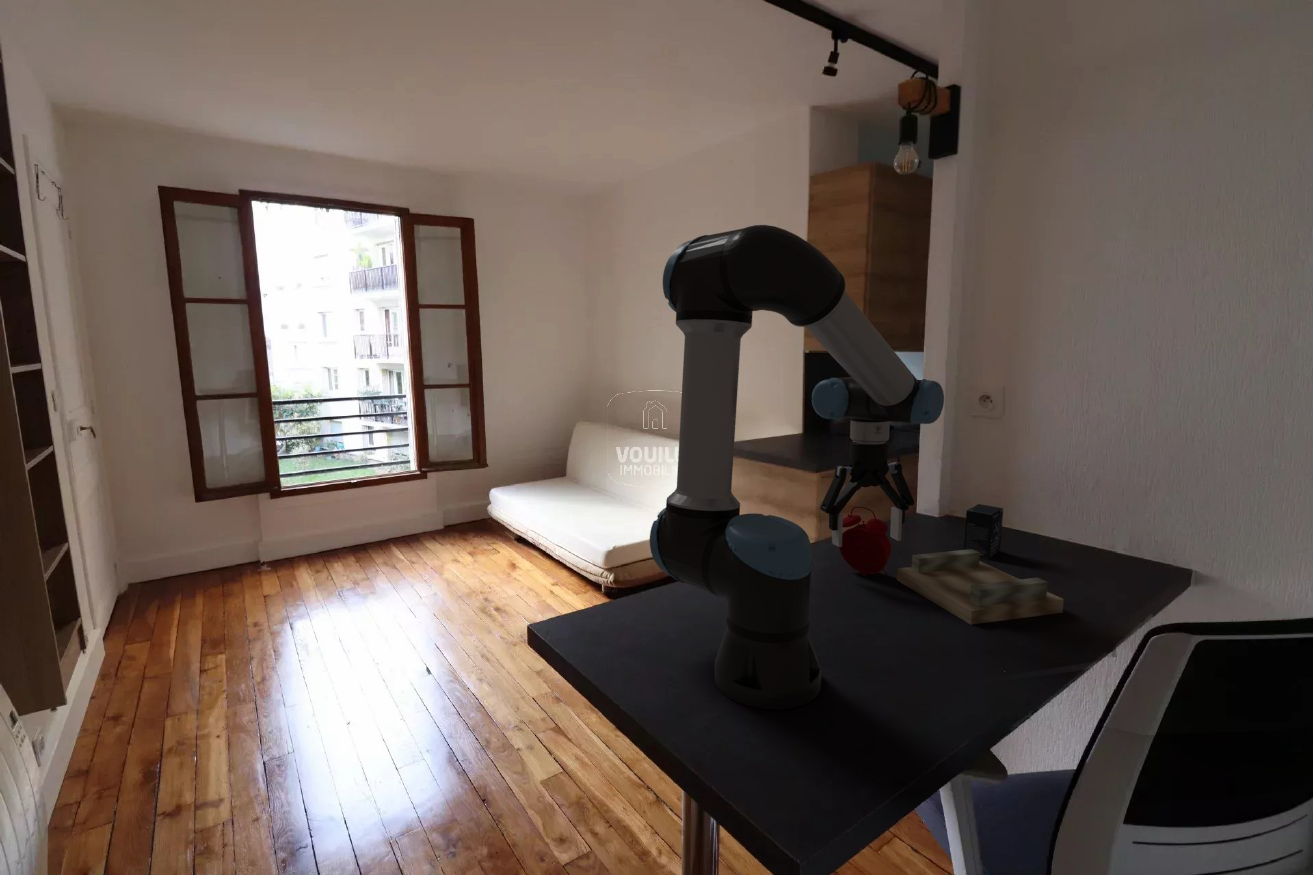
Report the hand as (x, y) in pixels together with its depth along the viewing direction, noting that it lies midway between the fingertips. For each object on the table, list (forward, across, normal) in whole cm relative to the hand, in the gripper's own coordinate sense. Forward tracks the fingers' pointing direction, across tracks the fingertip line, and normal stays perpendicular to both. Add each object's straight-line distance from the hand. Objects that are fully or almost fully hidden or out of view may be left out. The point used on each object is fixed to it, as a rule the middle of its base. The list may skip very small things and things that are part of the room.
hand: (866, 541), depth 127 cm
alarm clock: (+7, 0, 0) cm, 7 cm away
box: (+8, +33, +5) cm, 34 cm away
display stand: (+7, +14, -15) cm, 22 cm away
